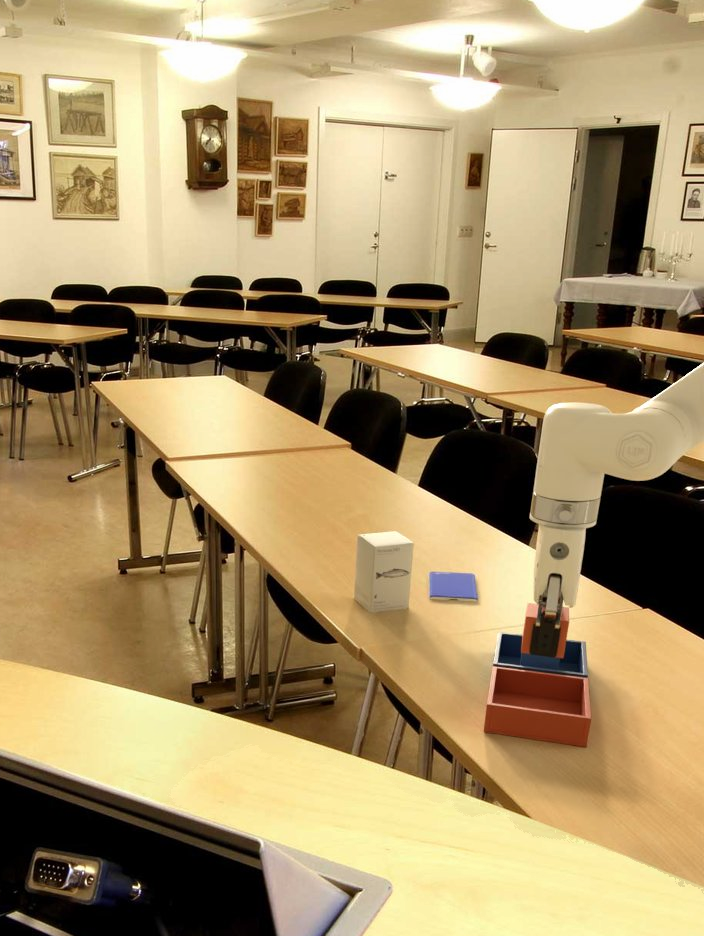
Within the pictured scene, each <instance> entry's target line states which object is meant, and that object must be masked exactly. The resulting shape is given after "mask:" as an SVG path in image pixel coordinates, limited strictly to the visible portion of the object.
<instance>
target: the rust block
mask: <svg viewBox="0 0 704 936" xmlns="http://www.w3.org/2000/svg"><path fill="white" fill-rule="evenodd" d="M545 608H546V607H543V609H542V612H543V611H545ZM537 611H538V604H537V603H531V602H527V605H526V610H525V617H524V623H523V631H522V635H523V637H522V647H521V653H527V654H530V653H529V650H530V643H531V636H532V630H533V624H536V618H537ZM556 612H557V611H556ZM560 627H561V631H560V638H559V644H558V650H557V655H556V657H558V658H563V657H564V651H565V645H566V640H568V632H569V627H570V607H569V606H568V607H567V606H563V607H562V613H561V620H560Z"/></svg>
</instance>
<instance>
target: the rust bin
mask: <svg viewBox="0 0 704 936" xmlns="http://www.w3.org/2000/svg"><path fill="white" fill-rule="evenodd" d="M590 695H591V694H590V683H589V677H588V678H583V677H575V676H567V675H559V674H551V673H543V672H535V671H527V670H519V669H511V668H503V667H495V666H493V665H492V669H491V676H490V680H489V688H488V695H487V702H486V709H485V716H484V725H483V732H484V733H487V734H489V733H490V734H496V735H502V736H509V737H515V738H516V737H517V738H523V739H528V740H529V739H530V740H536V741H542V742H548V743H556V744H562V745H570V746H576V747H583V748H587V747H588V741H589V734H590V728H591V722H592V713H591V712H592V711H591V699H590V698H591V697H590Z"/></svg>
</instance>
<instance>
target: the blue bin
mask: <svg viewBox="0 0 704 936" xmlns="http://www.w3.org/2000/svg"><path fill="white" fill-rule="evenodd" d="M522 637H523V634H520V633H514V632H513V633H512V632H502V631H497V636H496V644H495V648H494V649H495V650H494V655H493V656H494V657H493V663H492V667H493V666H495V667H503V668H511V669H519V670H527V671H535V672H543V673H551V674H559V675H567V676H575V677H583V678H588V679H589V668H588V656H587V655H588V654H587V642H586V641H581V640H574V639H566V645H565V651H564V657H563V658H560V661H559V668H558V670H552V669H544V668H536V667H528V666H520V660H521V647H522Z"/></svg>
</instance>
